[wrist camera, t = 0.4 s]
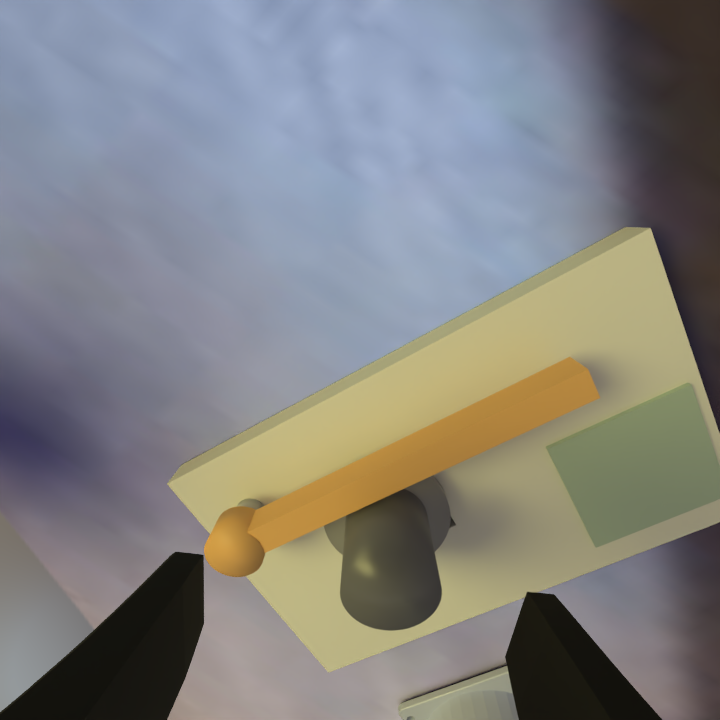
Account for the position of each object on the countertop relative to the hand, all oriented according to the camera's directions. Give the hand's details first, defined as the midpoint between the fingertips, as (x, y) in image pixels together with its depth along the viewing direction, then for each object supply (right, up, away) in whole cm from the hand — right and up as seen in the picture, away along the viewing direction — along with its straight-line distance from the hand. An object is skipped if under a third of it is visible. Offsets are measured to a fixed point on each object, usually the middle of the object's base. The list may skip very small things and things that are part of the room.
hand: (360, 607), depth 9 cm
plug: (+1, -1, +11) cm, 11 cm away
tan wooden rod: (+1, +1, +7) cm, 8 cm away
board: (+4, 0, +11) cm, 11 cm away
